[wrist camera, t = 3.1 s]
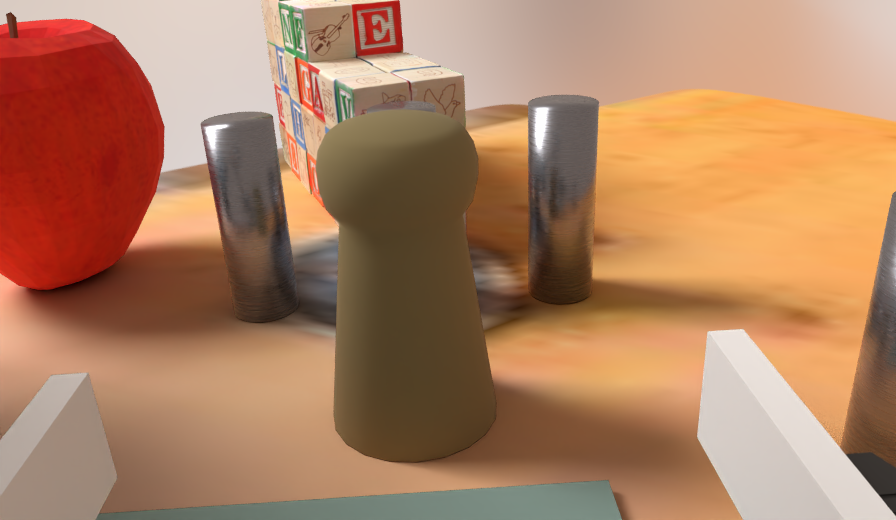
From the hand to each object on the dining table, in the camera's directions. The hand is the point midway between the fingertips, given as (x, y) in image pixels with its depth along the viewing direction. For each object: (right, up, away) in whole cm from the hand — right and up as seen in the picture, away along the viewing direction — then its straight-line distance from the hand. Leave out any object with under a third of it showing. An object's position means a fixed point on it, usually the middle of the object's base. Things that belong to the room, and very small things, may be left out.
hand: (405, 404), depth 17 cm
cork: (0, -3, +12) cm, 12 cm away
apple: (-19, +2, +24) cm, 31 cm away
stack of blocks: (-5, +7, +35) cm, 36 cm away
